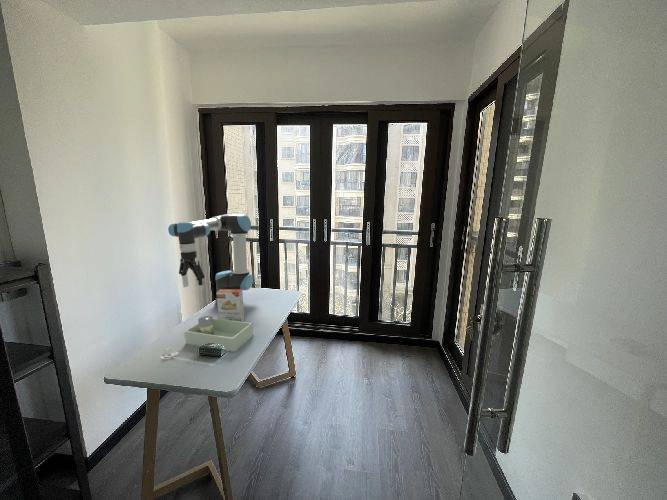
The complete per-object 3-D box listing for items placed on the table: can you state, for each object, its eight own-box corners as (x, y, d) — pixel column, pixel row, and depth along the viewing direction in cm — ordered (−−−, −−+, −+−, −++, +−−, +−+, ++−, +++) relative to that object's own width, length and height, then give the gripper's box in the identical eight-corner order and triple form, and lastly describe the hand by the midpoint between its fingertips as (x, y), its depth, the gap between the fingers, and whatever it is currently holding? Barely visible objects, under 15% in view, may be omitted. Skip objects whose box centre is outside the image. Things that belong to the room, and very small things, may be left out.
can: (206, 333, 157) (204, 315, 155) (217, 334, 155) (215, 316, 153) (197, 339, 150) (195, 320, 148) (208, 341, 148) (206, 322, 146)
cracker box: (218, 324, 168) (215, 292, 164) (223, 320, 174) (219, 288, 170) (241, 324, 168) (238, 292, 164) (245, 320, 174) (242, 288, 170)
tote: (209, 329, 163) (207, 317, 161) (253, 335, 155) (252, 323, 153) (185, 344, 146) (184, 331, 145) (234, 352, 138) (232, 338, 137)
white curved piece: (181, 356, 136) (180, 348, 136) (163, 363, 131) (161, 355, 130) (176, 349, 143) (175, 342, 142) (159, 355, 137) (157, 347, 137)
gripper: (168, 250, 151) (173, 286, 155) (195, 254, 138) (200, 294, 142) (182, 247, 157) (186, 283, 162) (208, 252, 144) (213, 290, 149)
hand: (193, 288), depth 152 cm, fingers open, 13 cm apart
